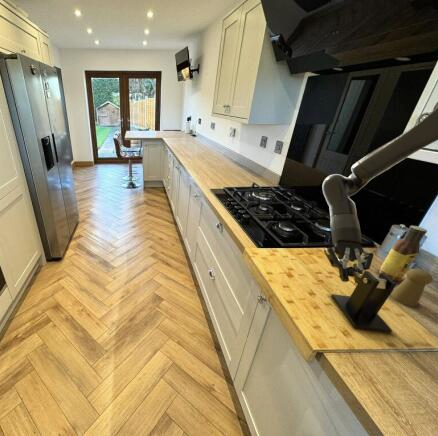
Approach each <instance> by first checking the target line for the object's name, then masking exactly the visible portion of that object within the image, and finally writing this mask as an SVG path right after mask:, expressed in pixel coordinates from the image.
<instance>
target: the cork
mask: <svg viewBox="0 0 438 436" xmlns="http://www.w3.org/2000/svg"><path fill="white" fill-rule="evenodd" d="M433 280H434V279H433V276H432V274H431V273H429V272H428V271H426V270H423V269H420V268H409V269H408V270H407V272H406V278H405V279H404V280H402V282H401V283H400V284H399V285H398V286H396V287H395V288H394V289H393V291H392V292H391V294H390V296H391V297H392V298H393V299H394V300H396V301H397V302H399V303H401V304H402V305H405V306H409V307H417V305H418V303H419V301H420V299H421V296H422V294H423V292H424V289H425V288H426V285H429V284H431V283H432V282H433Z"/></svg>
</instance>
